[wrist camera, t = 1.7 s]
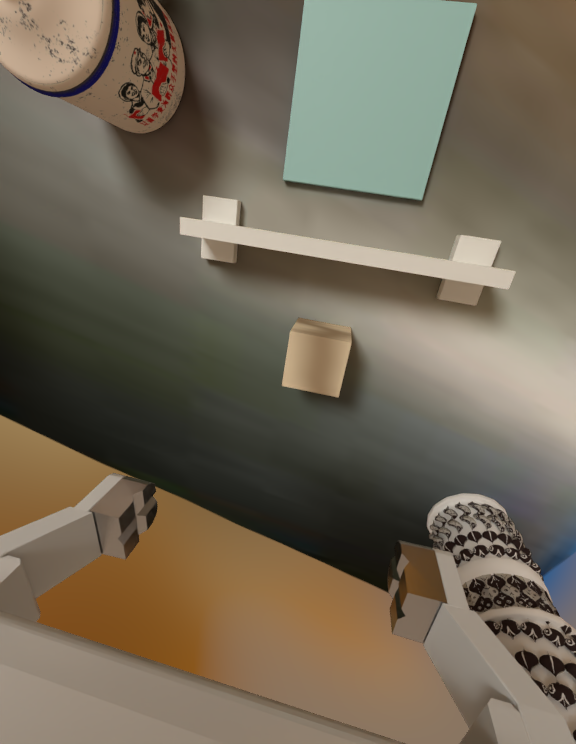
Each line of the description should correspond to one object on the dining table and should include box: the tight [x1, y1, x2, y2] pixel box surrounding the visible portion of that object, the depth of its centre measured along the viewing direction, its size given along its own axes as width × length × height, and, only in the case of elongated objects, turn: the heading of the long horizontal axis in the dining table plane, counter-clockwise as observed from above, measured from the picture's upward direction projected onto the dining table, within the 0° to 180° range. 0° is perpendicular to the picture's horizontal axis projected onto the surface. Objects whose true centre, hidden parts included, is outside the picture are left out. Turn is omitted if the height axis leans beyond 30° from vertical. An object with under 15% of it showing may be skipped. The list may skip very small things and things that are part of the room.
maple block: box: [282, 318, 352, 398], centre depth 29 cm, size 5×5×5 cm
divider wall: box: [180, 195, 516, 306], centre depth 25 cm, size 24×5×5 cm, turn 82°
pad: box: [283, 0, 477, 201], centre depth 23 cm, size 11×11×1 cm
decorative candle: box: [427, 493, 576, 744], centre depth 24 cm, size 9×9×25 cm
